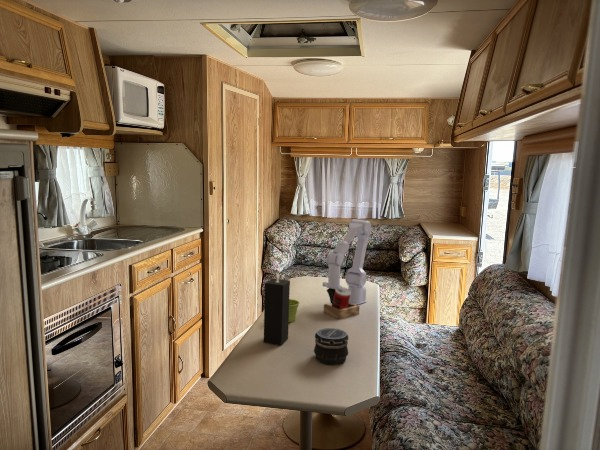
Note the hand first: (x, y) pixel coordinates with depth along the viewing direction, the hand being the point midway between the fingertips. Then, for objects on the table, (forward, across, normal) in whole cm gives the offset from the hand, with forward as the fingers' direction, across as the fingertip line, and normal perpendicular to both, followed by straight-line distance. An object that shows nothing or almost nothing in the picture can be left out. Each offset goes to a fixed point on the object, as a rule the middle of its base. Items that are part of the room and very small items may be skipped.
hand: (333, 303), depth 218 cm
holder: (+3, +5, 0) cm, 6 cm away
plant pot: (+4, -1, -28) cm, 28 cm away
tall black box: (+4, +15, -47) cm, 49 cm away
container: (+4, +40, -40) cm, 57 cm away
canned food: (+3, +4, 0) cm, 5 cm away
